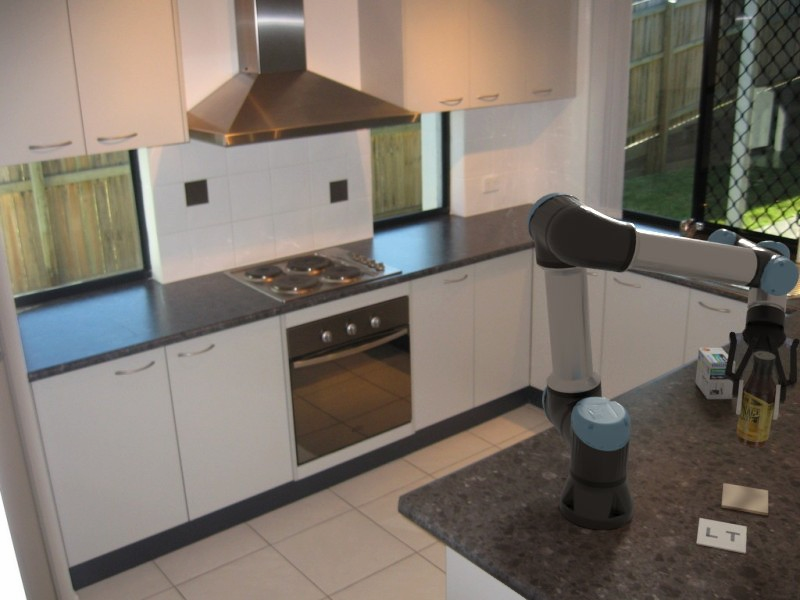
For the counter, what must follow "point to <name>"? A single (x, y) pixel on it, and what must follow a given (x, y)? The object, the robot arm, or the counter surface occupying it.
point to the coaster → (745, 499)
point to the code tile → (722, 535)
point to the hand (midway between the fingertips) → (756, 414)
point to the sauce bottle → (757, 402)
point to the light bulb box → (713, 373)
